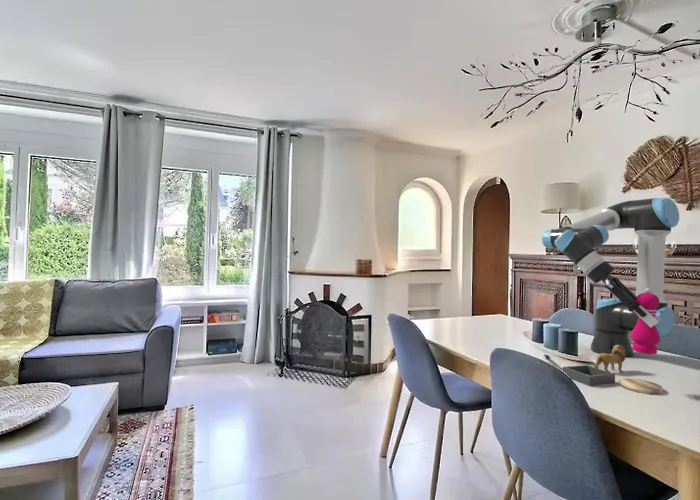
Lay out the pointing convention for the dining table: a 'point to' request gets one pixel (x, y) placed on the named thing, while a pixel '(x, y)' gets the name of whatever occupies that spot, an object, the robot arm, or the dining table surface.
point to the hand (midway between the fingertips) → (655, 323)
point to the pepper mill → (642, 332)
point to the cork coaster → (641, 386)
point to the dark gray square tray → (595, 374)
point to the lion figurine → (612, 358)
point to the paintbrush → (552, 361)
